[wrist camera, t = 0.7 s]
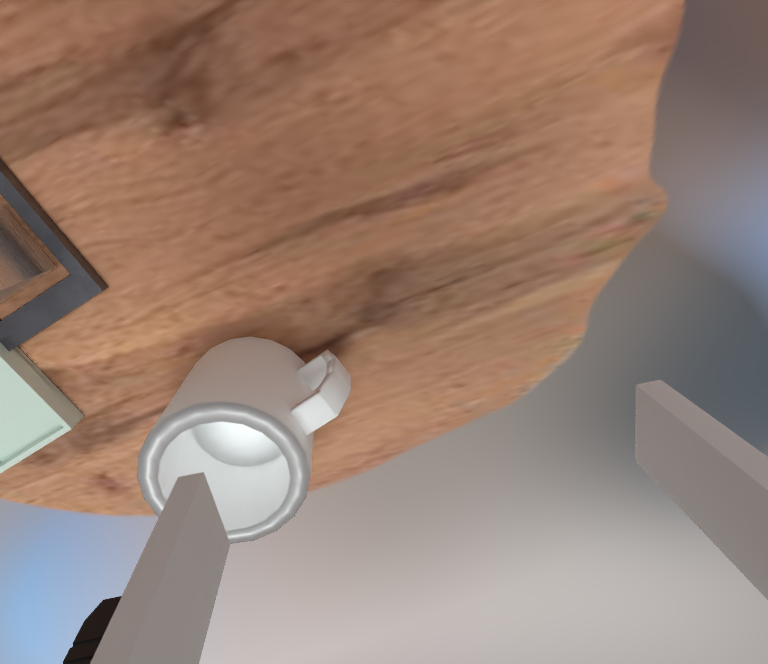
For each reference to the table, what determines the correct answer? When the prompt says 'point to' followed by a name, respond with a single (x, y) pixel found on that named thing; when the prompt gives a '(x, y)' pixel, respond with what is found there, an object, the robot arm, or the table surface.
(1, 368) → the tray
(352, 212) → the table surface
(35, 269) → the grey rectangular block
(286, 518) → the mug
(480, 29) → the table surface
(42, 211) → the double window frame
